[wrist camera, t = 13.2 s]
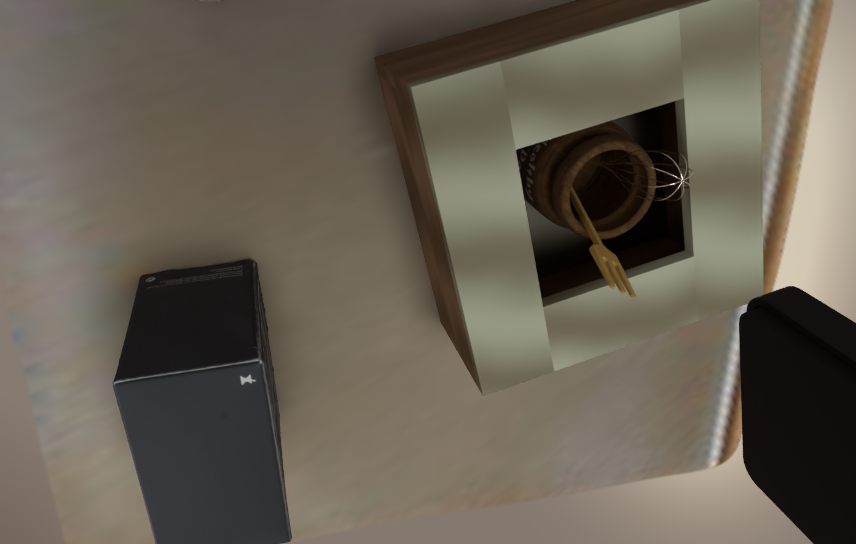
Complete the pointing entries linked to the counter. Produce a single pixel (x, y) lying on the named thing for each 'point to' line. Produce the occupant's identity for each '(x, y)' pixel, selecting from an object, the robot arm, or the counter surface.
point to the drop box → (562, 114)
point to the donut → (209, 0)
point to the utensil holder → (593, 187)
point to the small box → (204, 408)
